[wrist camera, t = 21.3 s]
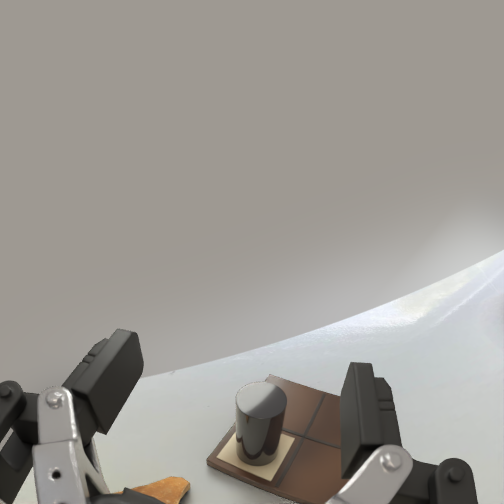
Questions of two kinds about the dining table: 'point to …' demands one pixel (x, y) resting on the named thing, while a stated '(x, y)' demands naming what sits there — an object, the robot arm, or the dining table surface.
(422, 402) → the dining table surface
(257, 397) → the dark grey cylinder
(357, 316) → the dining table surface
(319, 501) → the board
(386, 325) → the dining table surface
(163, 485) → the pottery shard
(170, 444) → the dining table surface
